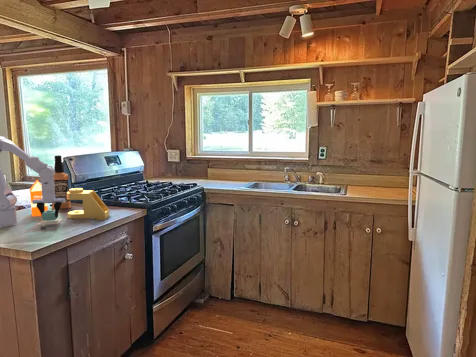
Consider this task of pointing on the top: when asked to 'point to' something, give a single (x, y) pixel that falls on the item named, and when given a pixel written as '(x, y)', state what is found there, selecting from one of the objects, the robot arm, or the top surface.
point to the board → (48, 228)
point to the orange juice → (36, 194)
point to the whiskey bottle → (61, 183)
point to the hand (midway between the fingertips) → (50, 217)
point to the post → (43, 224)
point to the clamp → (88, 204)
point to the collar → (49, 215)
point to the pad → (53, 221)
